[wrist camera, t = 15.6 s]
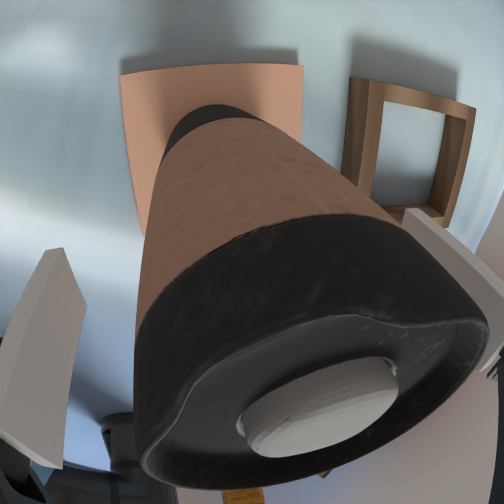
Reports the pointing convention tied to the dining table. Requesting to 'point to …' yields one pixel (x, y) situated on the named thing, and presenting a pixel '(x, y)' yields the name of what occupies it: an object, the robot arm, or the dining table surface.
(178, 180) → the travel mug
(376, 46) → the dining table surface
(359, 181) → the collar
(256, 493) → the coffee package
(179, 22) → the dining table surface
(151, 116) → the coaster tile
